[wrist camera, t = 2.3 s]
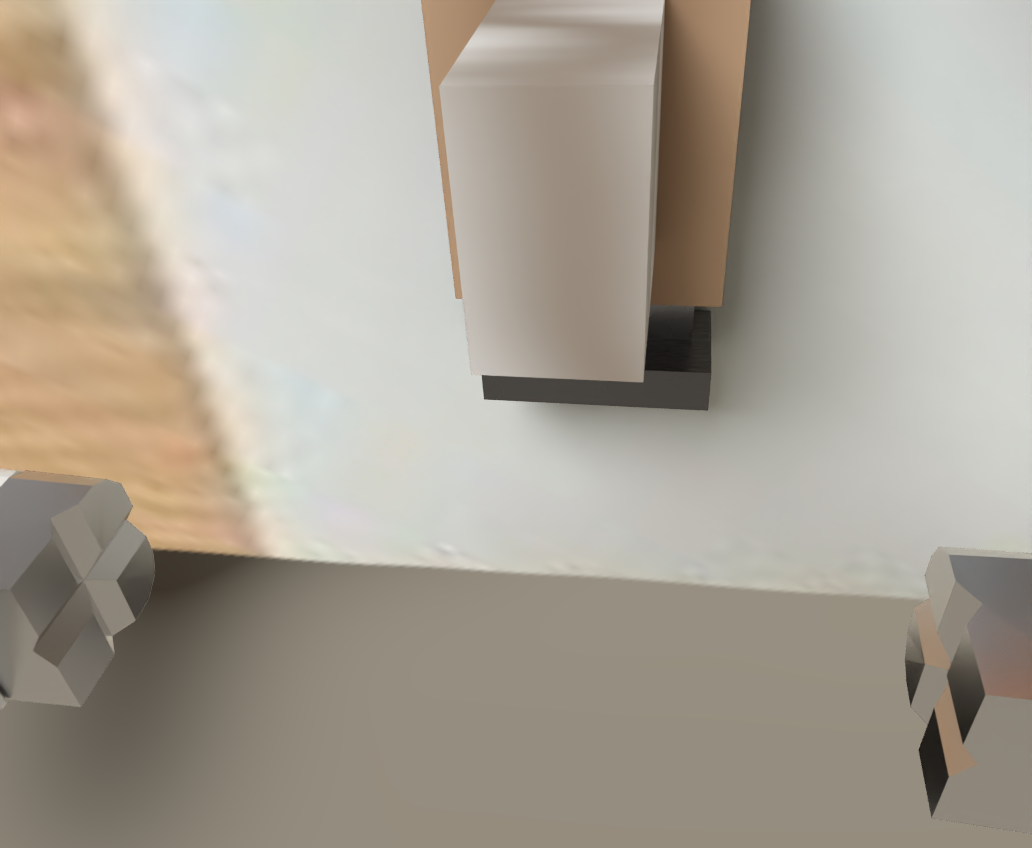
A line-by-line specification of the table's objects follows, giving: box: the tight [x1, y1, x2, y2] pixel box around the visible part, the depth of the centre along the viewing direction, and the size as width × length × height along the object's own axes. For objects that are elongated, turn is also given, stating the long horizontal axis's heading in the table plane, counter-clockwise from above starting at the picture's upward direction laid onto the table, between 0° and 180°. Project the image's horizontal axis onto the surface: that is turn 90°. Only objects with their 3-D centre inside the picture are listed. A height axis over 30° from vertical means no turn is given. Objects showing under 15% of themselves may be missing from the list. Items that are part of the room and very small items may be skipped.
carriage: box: [421, 0, 751, 382], centre depth 17 cm, size 6×8×8 cm
